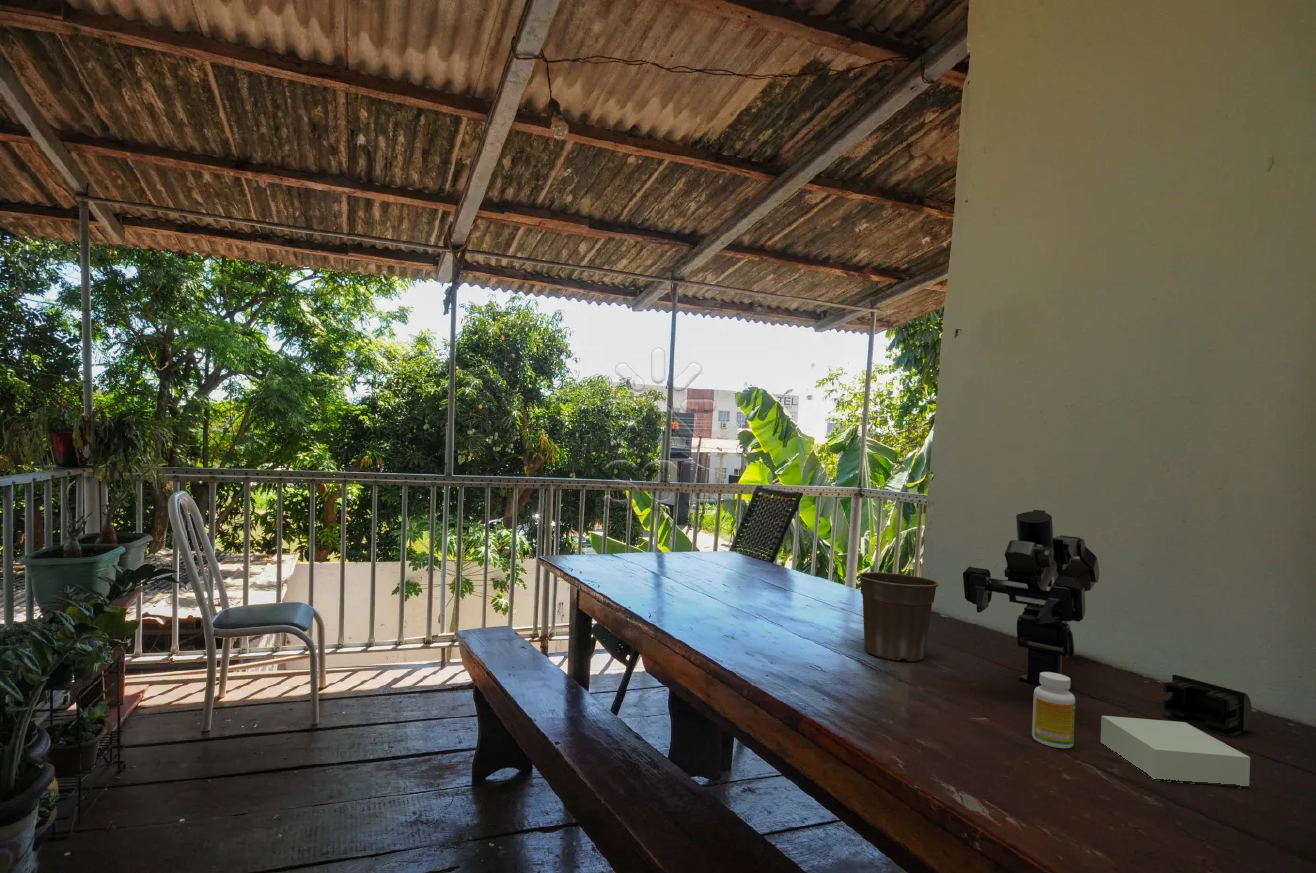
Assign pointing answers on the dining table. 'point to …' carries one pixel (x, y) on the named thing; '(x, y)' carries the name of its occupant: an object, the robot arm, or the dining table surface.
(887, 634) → the plant pot
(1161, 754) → the plinth
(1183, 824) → the dining table surface
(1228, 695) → the end cap
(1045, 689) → the supplement bottle
